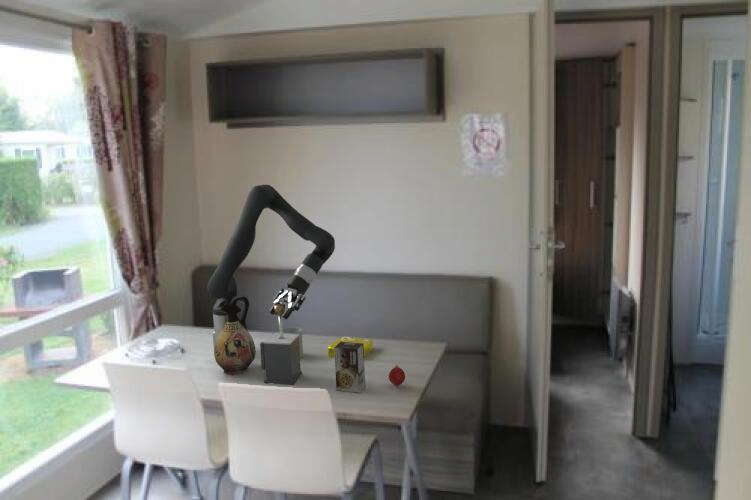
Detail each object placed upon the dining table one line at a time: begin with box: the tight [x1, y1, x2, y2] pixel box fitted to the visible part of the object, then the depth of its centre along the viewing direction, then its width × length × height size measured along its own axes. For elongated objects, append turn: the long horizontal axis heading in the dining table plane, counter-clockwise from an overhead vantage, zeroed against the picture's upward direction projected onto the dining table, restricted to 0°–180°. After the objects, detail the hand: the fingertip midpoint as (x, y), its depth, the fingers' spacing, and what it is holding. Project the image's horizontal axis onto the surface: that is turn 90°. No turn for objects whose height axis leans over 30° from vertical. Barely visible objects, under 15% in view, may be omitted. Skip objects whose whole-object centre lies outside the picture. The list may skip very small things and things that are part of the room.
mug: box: [277, 326, 304, 359], centre depth 266 cm, size 12×8×11 cm
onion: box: [388, 364, 406, 387], centre depth 232 cm, size 6×6×8 cm
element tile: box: [327, 336, 374, 358], centre depth 269 cm, size 15×15×5 cm
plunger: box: [274, 303, 286, 339], centre depth 240 cm, size 8×8×19 cm
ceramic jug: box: [213, 294, 257, 376], centre depth 249 cm, size 17×15×30 cm
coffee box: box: [334, 342, 366, 394], centre depth 231 cm, size 9×6×16 cm
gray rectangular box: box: [259, 332, 303, 385], centre depth 242 cm, size 14×11×16 cm
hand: (277, 315), depth 238 cm, fingers open, 8 cm apart
